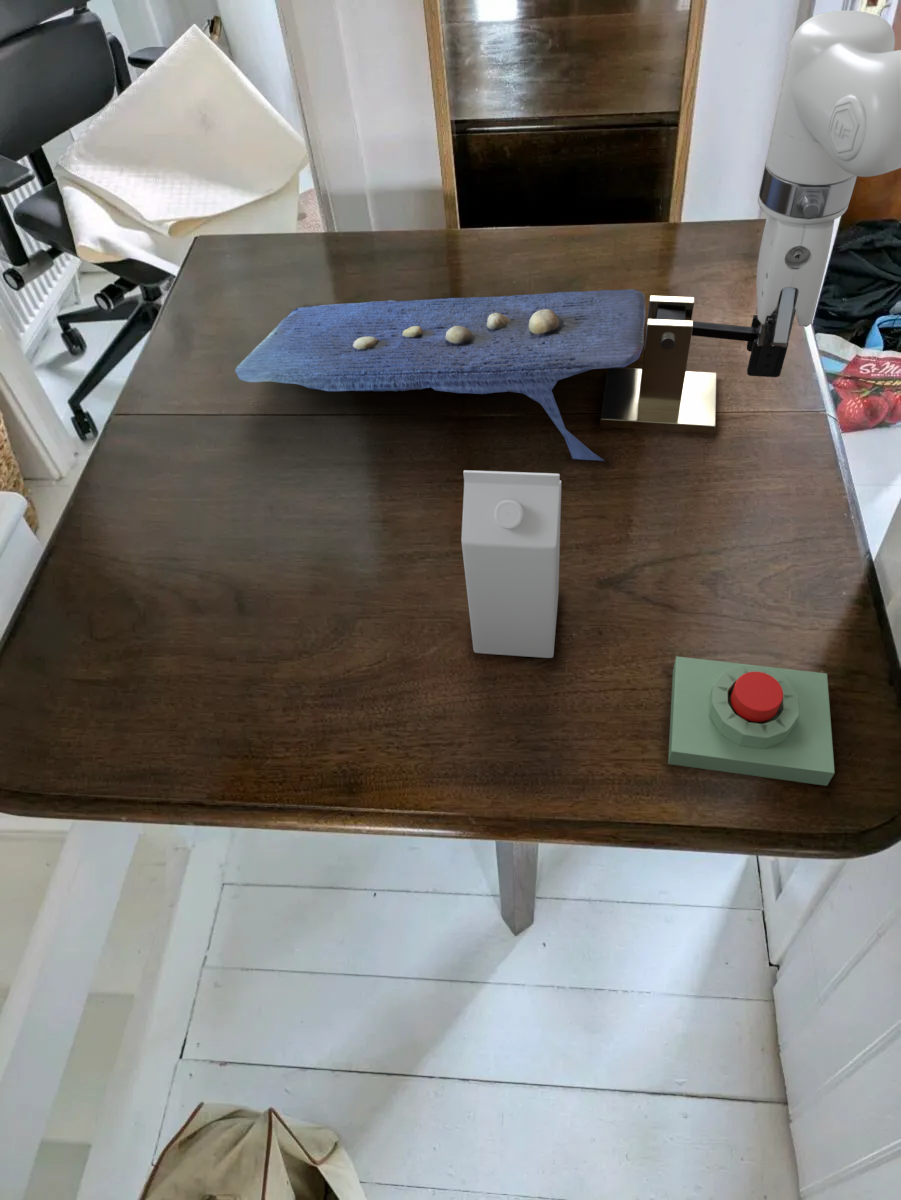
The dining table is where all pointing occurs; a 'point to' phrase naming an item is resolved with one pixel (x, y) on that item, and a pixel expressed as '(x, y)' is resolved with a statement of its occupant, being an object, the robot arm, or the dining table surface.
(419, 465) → the dining table surface
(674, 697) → the green push button box
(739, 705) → the power button
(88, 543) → the dining table surface
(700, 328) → the lever switch
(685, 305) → the metal lever base
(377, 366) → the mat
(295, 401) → the dining table surface
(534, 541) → the milk carton
